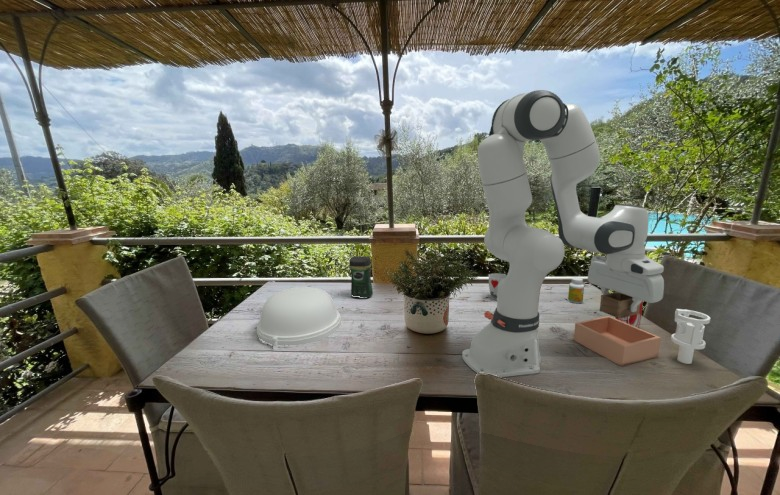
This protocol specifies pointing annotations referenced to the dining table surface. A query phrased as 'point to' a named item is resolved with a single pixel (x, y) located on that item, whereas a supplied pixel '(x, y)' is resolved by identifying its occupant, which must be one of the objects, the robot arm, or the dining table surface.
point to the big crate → (617, 340)
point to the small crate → (617, 304)
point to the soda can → (633, 318)
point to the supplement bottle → (576, 290)
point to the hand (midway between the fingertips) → (619, 306)
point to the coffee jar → (360, 276)
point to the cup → (495, 283)
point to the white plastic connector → (689, 333)
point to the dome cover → (298, 317)
